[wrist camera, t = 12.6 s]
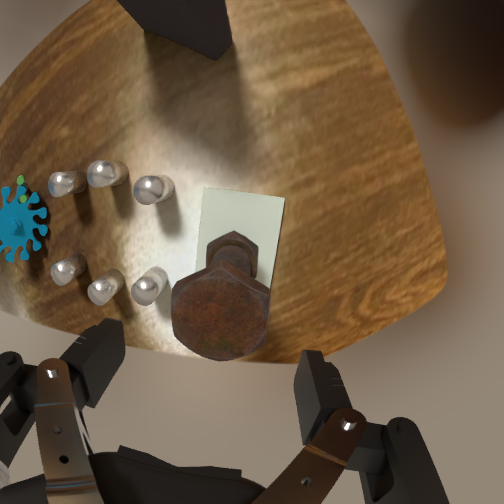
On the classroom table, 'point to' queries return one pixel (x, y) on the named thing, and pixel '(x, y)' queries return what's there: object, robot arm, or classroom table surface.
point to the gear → (20, 221)
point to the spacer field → (74, 265)
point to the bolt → (223, 302)
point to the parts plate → (241, 224)
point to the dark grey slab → (185, 22)
